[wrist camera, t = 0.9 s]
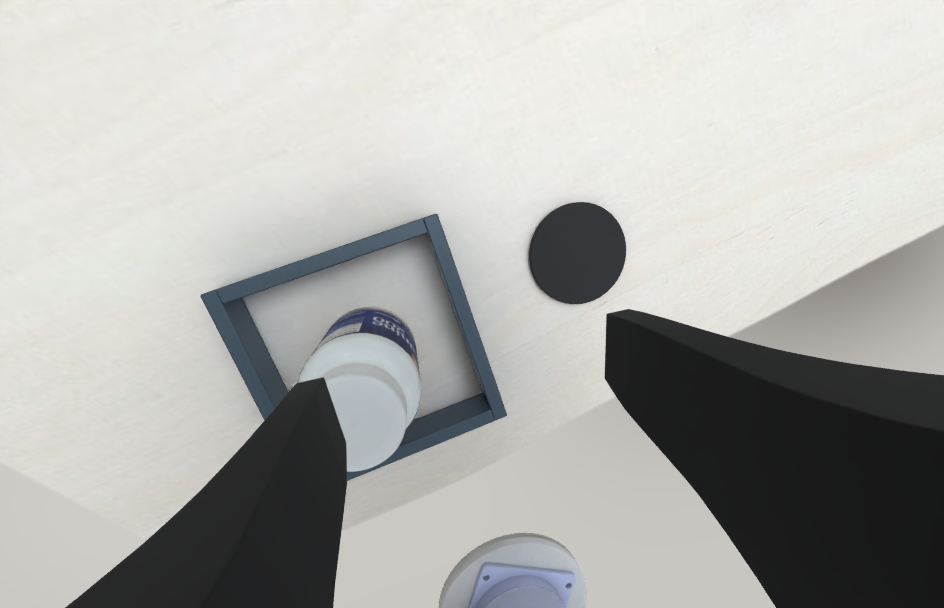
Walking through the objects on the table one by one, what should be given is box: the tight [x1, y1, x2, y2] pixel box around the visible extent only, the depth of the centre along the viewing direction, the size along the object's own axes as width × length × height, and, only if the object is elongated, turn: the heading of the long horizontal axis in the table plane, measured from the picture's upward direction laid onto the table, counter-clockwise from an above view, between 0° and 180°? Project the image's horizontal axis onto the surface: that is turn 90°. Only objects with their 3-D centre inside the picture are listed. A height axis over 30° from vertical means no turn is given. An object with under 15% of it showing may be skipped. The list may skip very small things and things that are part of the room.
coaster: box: [529, 202, 626, 304], centre depth 25 cm, size 6×6×1 cm
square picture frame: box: [201, 214, 507, 481], centre depth 23 cm, size 13×13×2 cm
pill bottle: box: [298, 307, 421, 472], centre depth 20 cm, size 5×5×10 cm
